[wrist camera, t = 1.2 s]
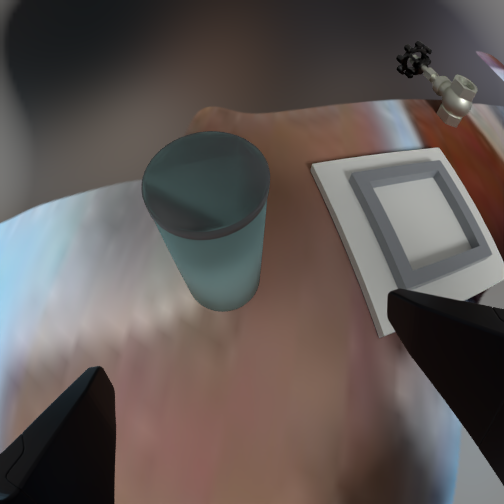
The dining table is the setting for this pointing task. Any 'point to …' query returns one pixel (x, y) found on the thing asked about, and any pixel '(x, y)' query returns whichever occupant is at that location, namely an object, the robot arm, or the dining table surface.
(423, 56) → the valve
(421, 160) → the dock
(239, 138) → the cup
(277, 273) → the dining table surface
